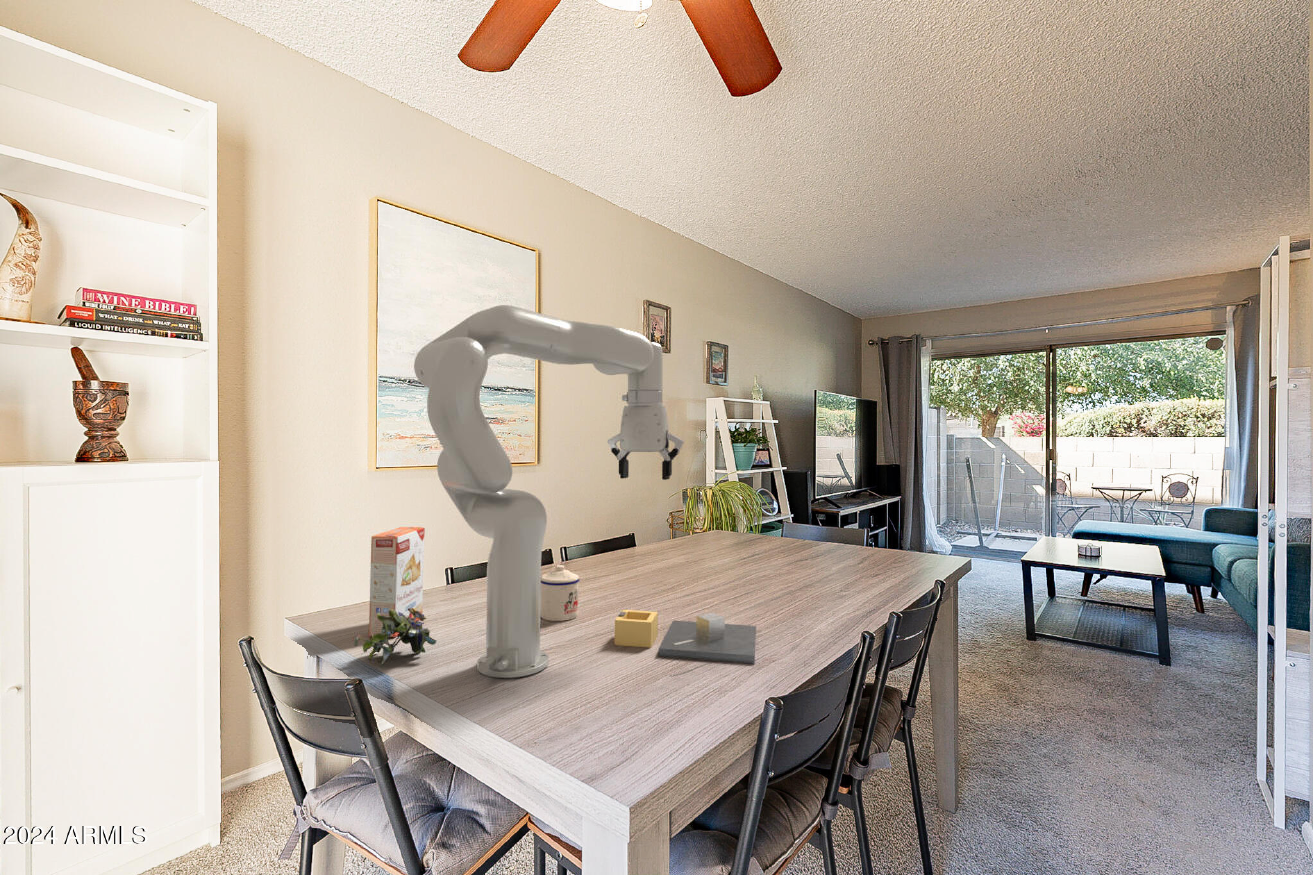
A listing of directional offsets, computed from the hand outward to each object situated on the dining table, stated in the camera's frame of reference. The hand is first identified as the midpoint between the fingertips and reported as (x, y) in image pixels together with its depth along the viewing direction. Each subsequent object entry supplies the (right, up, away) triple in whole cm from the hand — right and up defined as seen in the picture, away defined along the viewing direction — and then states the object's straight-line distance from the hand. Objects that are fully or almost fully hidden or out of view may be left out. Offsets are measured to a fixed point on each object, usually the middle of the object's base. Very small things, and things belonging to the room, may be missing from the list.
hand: (644, 478), depth 130 cm
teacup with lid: (-20, -33, +10) cm, 40 cm away
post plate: (+13, -33, -9) cm, 37 cm away
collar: (-2, -33, -7) cm, 33 cm away
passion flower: (-45, -32, -20) cm, 59 cm away
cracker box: (-53, -32, -1) cm, 62 cm away
